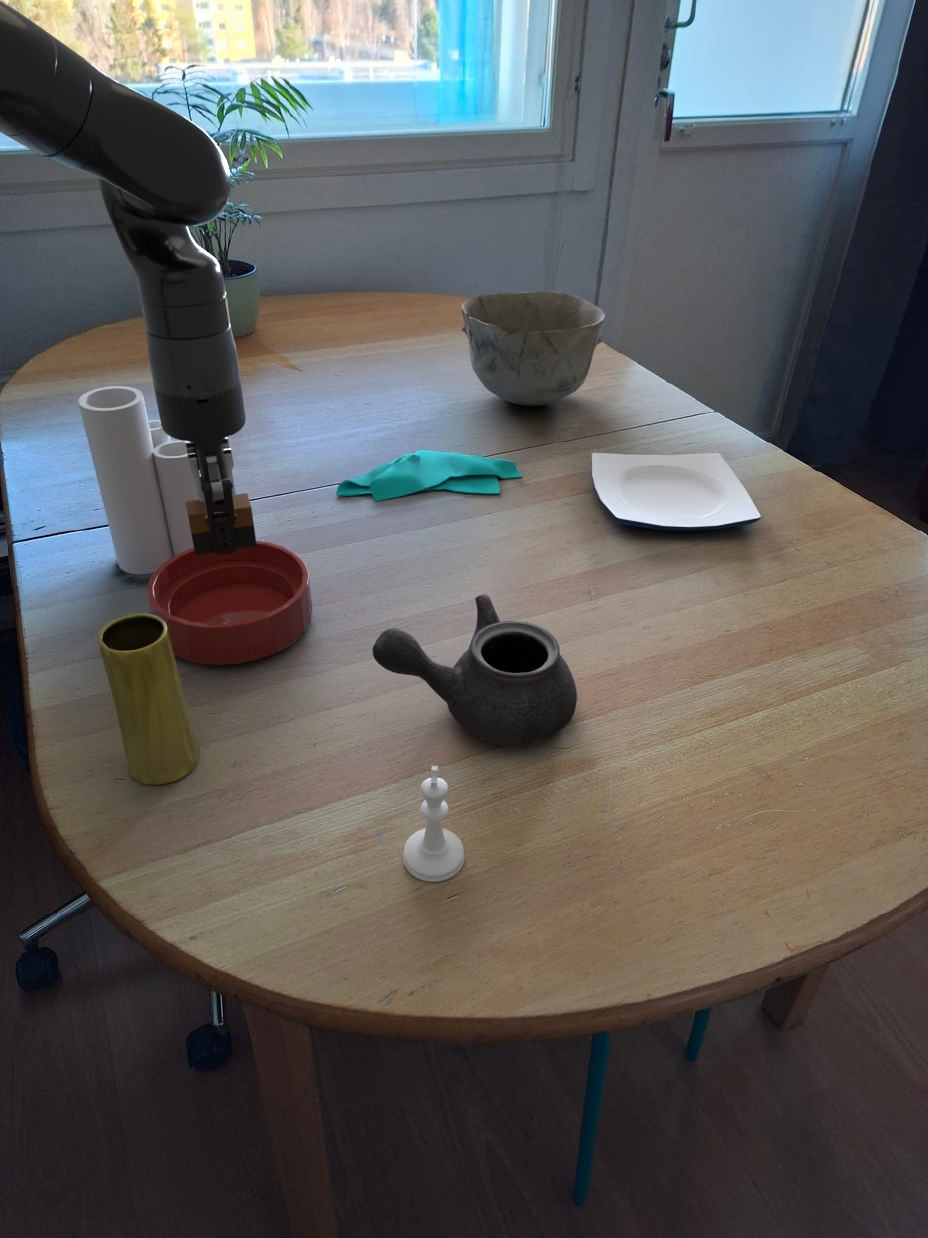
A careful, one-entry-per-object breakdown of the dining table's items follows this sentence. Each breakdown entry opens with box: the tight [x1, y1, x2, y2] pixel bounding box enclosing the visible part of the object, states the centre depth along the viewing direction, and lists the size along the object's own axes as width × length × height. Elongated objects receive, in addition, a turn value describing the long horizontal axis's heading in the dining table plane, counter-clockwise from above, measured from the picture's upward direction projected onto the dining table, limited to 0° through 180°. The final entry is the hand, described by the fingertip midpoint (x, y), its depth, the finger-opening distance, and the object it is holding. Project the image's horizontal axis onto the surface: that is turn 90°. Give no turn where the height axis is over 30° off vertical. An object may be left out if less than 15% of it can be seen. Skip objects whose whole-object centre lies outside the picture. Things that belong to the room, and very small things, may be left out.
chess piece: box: [402, 765, 466, 883], centre depth 67 cm, size 5×5×10 cm
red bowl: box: [146, 540, 313, 666], centre depth 92 cm, size 16×16×6 cm
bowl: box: [460, 290, 606, 407], centre depth 141 cm, size 22×22×15 cm
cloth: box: [335, 449, 523, 502], centre depth 122 cm, size 26×14×2 cm, turn 97°
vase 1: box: [77, 385, 199, 576], centre depth 98 cm, size 11×7×20 cm, turn 112°
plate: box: [590, 452, 762, 532], centre depth 118 cm, size 20×20×3 cm
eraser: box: [186, 492, 257, 555], centre depth 87 cm, size 6×3×4 cm, turn 109°
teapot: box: [372, 593, 578, 747], centre depth 81 cm, size 19×15×10 cm
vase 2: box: [97, 613, 201, 786], centre depth 73 cm, size 6×6×14 cm
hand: (223, 542), depth 88 cm, fingers closed on eraser, 3 cm apart
